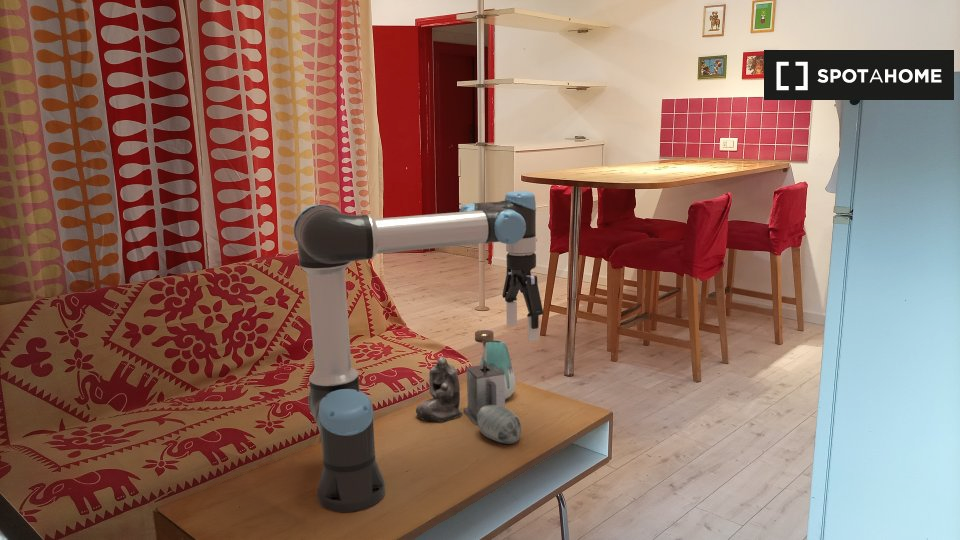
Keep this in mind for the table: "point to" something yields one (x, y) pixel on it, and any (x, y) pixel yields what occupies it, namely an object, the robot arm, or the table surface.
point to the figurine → (441, 394)
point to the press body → (484, 389)
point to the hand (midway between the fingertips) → (522, 332)
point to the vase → (501, 363)
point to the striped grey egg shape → (499, 424)
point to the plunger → (484, 343)
